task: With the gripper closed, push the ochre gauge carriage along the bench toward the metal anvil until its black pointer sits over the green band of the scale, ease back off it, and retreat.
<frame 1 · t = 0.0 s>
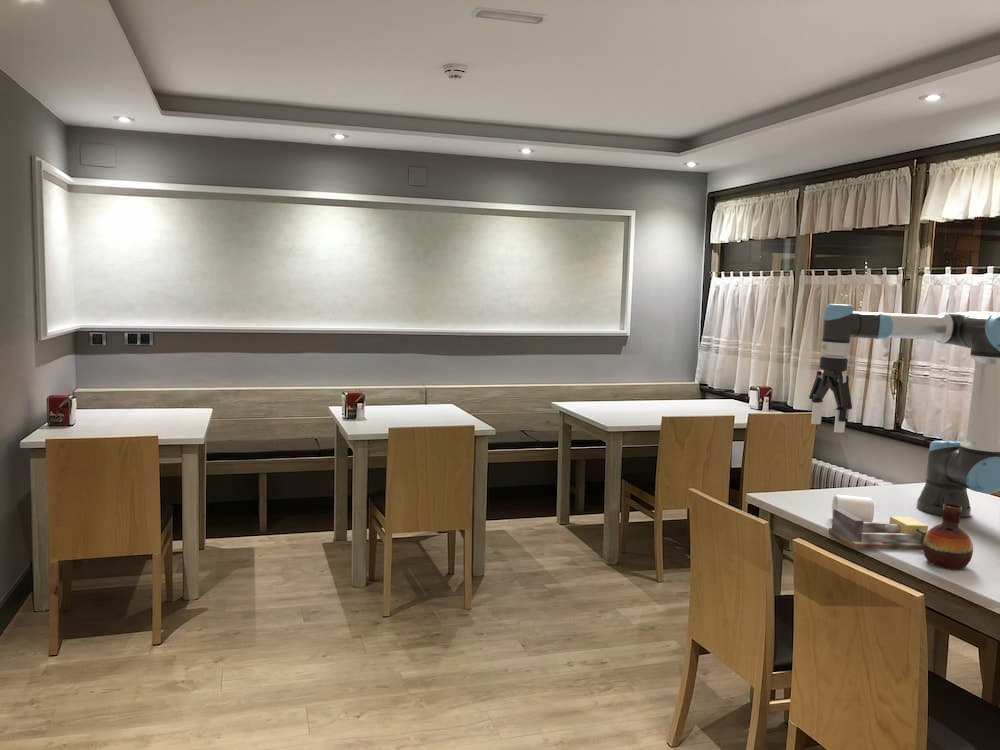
hand: (827, 428, 230), 28 cm above the table, fingers open, 13 cm apart
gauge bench: (882, 540, 215), on the table
gauge carriage: (906, 530, 214), point 4 cm above the table, slide at 0.0 cm
vase: (945, 565, 198), on the table
mug: (849, 521, 234), on the table
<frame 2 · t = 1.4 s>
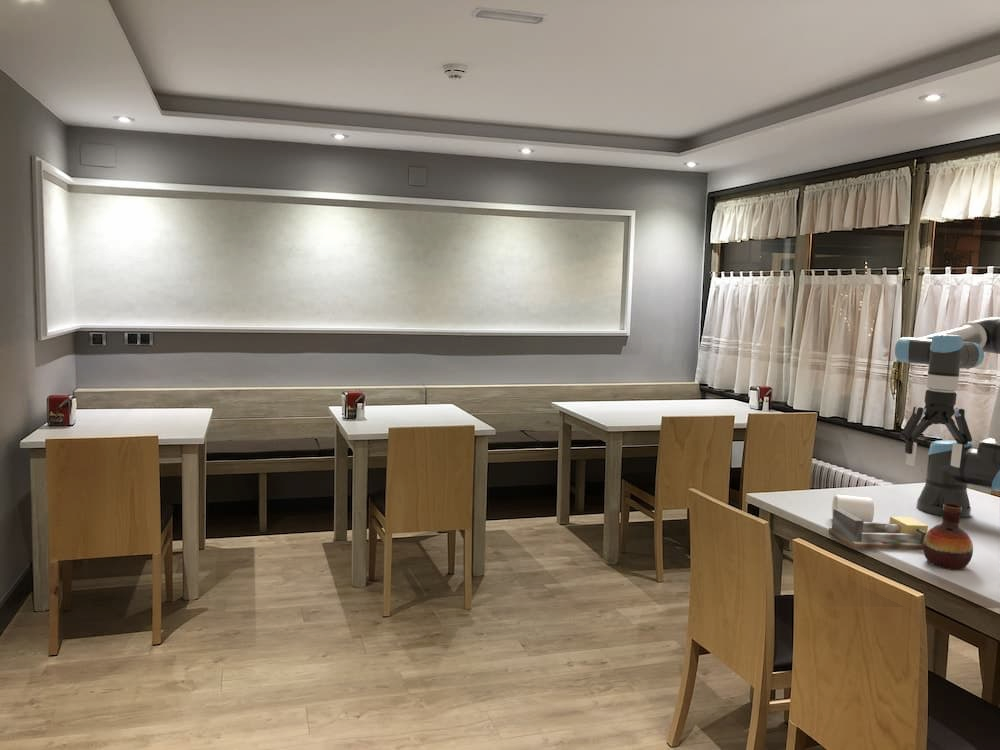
hand: (932, 465, 216), 21 cm above the table, fingers open, 13 cm apart
nothing on the table moved.
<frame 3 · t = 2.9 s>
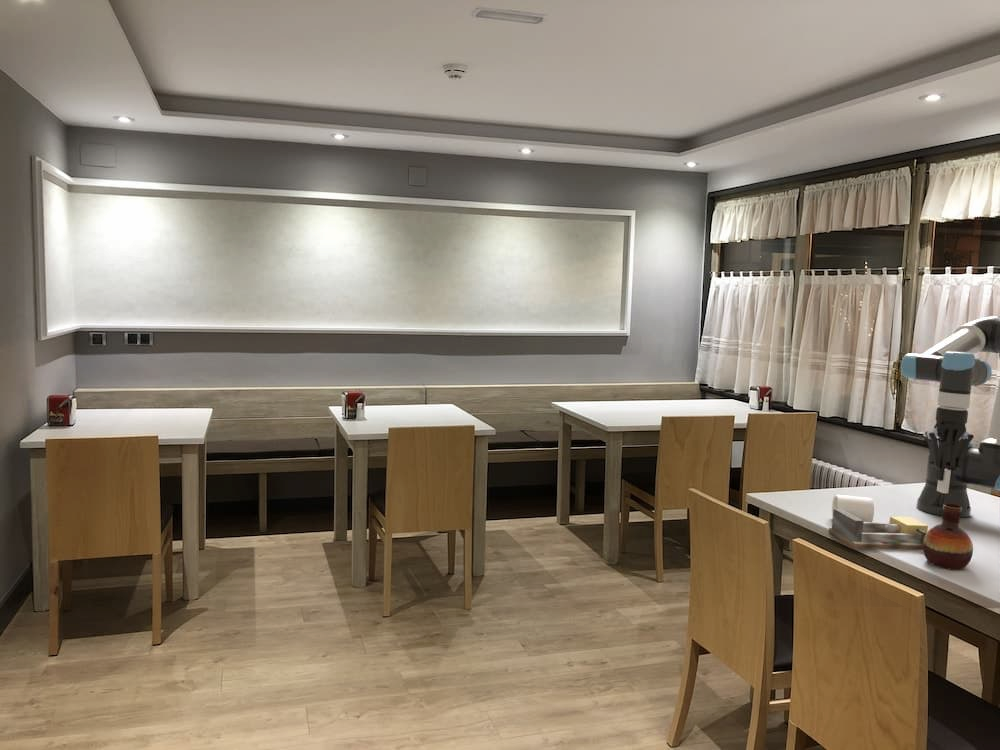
hand: (942, 491, 215), 14 cm above the table, fingers closed
nothing on the table moved.
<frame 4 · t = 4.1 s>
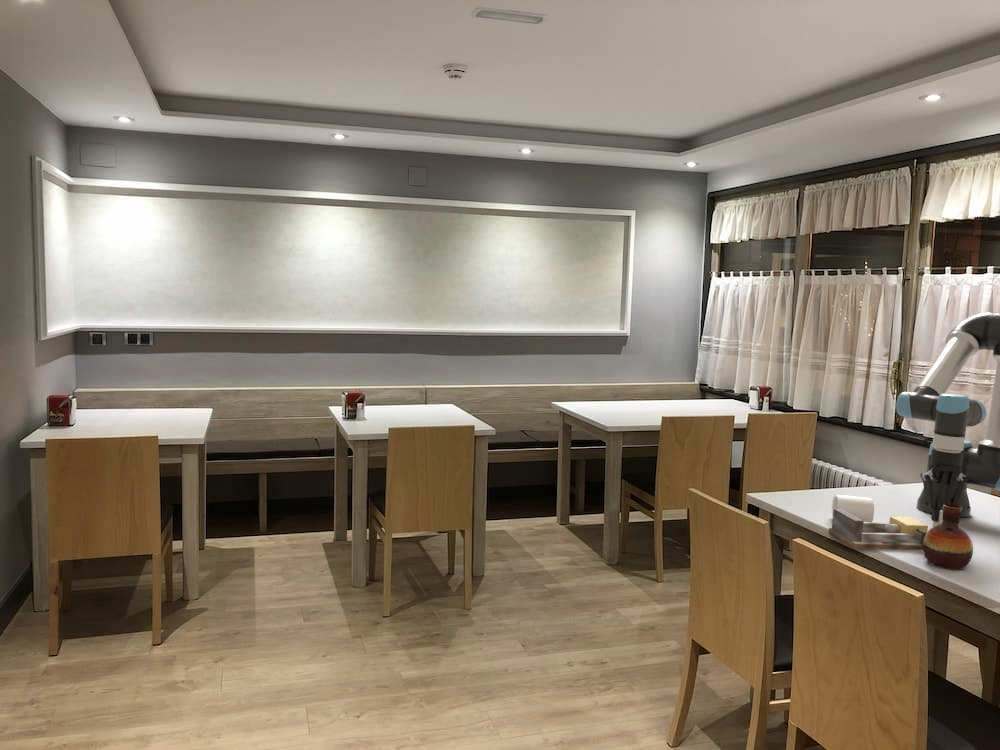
hand: (937, 532, 217), 3 cm above the table, fingers closed
nothing on the table moved.
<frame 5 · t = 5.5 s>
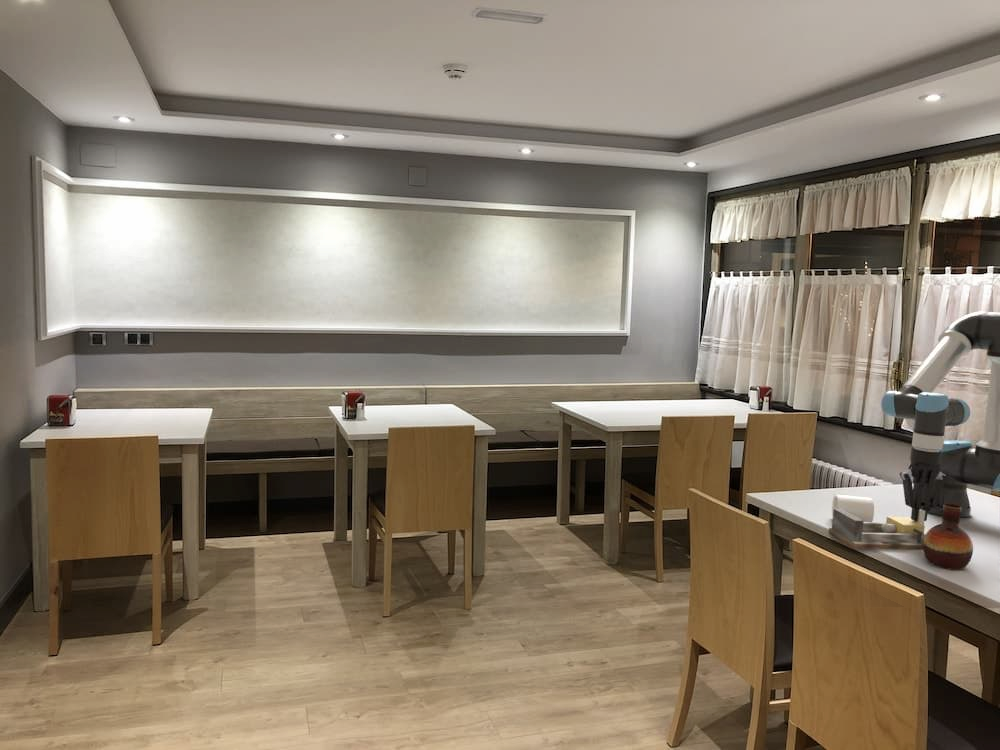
hand: (917, 532, 216), 3 cm above the table, fingers closed
gauge carriage: (903, 530, 214), point 4 cm above the table, slide at 1.0 cm, touching gripper
everything else where it was.
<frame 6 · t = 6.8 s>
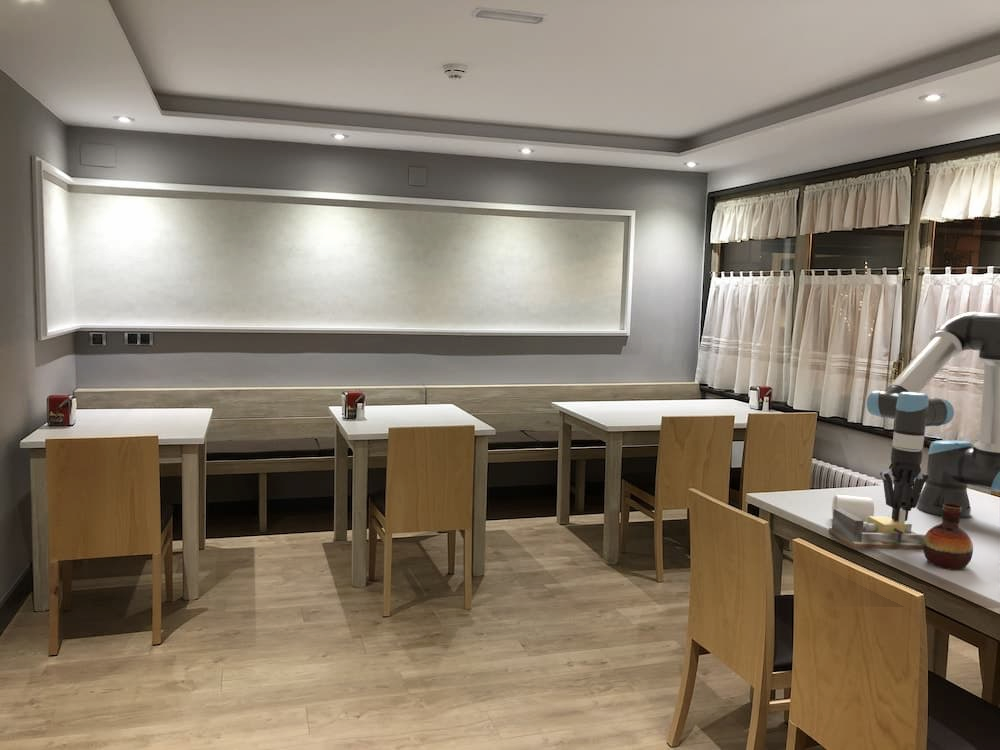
hand: (898, 531, 215), 3 cm above the table, fingers closed
gauge carriage: (883, 530, 213), point 4 cm above the table, slide at 6.6 cm, touching gripper
everything else where it was.
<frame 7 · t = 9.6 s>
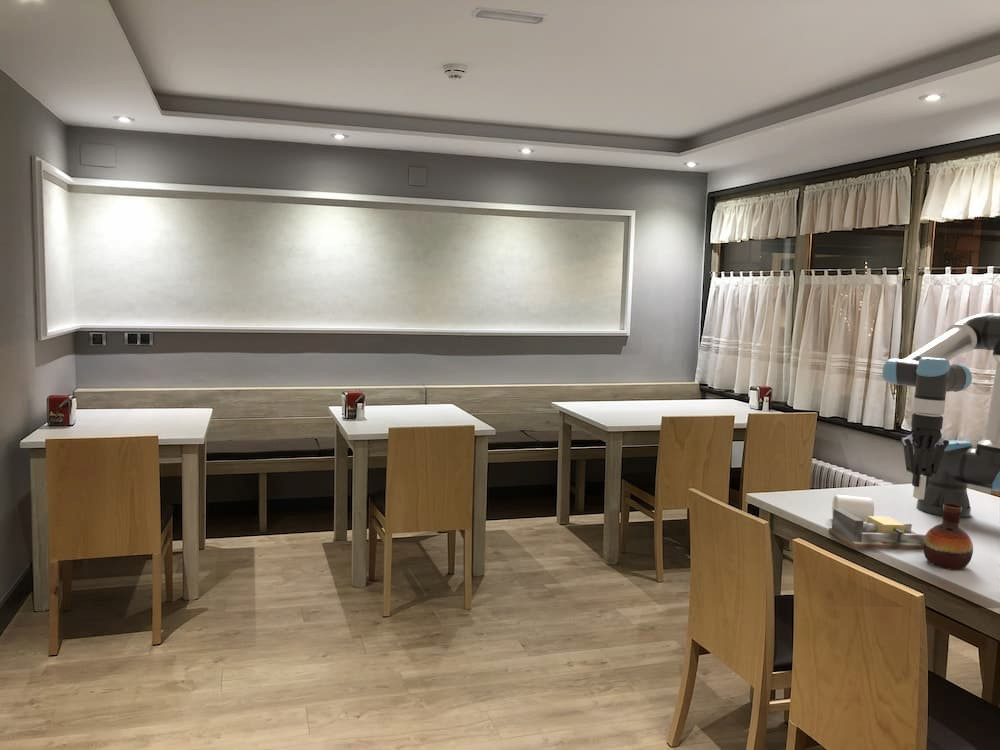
hand: (918, 497, 215), 12 cm above the table, fingers closed
gauge carriage: (883, 530, 213), point 4 cm above the table, slide at 6.7 cm
everything else where it was.
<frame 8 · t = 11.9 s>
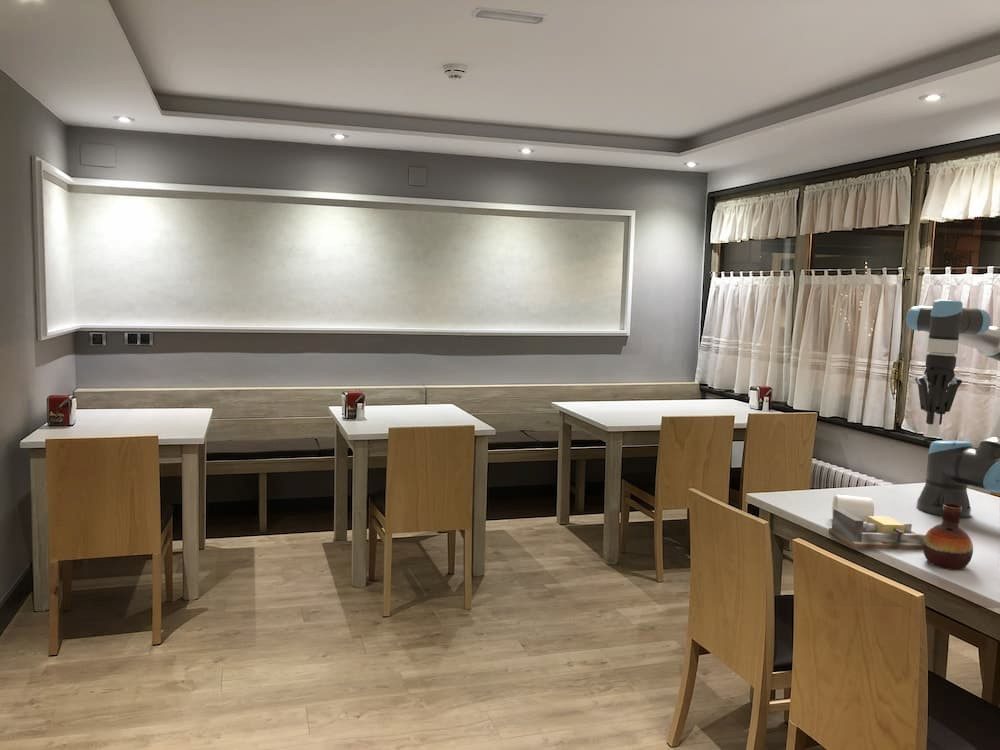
hand: (932, 435, 224), 28 cm above the table, fingers closed
nothing on the table moved.
at the end: gauge carriage slide at 6.7 cm; gauge carriage 0.8 cm from the target spot, resting on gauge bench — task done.
